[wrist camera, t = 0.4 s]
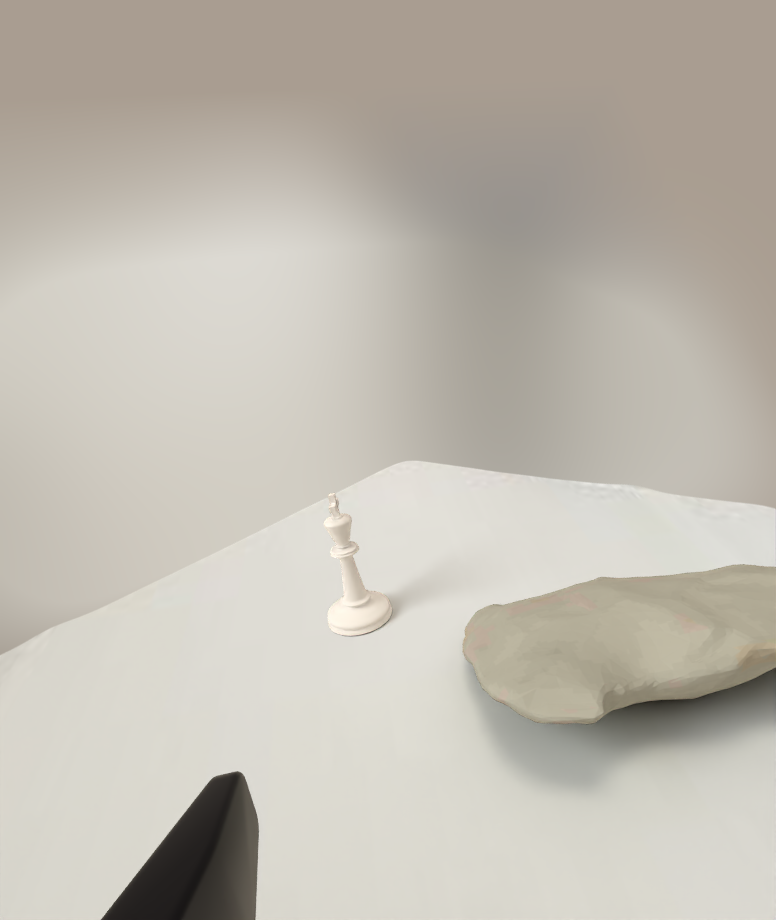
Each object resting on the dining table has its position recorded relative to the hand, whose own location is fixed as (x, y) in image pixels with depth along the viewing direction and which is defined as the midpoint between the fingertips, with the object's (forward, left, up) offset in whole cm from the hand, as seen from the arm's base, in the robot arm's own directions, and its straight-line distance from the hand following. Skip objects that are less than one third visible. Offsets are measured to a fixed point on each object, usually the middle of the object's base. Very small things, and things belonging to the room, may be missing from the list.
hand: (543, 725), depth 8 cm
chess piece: (+31, +6, -17) cm, 35 cm away
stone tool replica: (+20, -13, -17) cm, 29 cm away
